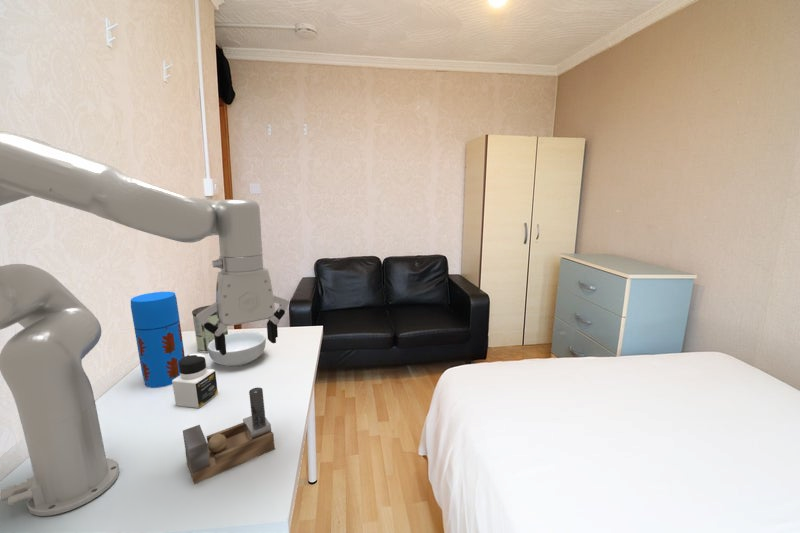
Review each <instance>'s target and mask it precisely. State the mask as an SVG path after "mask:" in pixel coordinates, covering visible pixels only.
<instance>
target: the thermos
mask: <svg viewBox="0 0 800 533" xmlns="http://www.w3.org/2000/svg"><path fill="white" fill-rule="evenodd" d="M177 301H178V299H177V295H176V293H175V292H174V291H156V292H149V293H148V292H147V293H144V294H139V295H136V296H133V297H132V298H130V310H131V316H132V321H133V322H132V323H133V328H134V333H135V340H136V345H137V352H138V357H139V364H140V369H141V375H142V378H143V384H144V385H145V386H146V387H148V388H151V389H152V388H154V389H155V388H163V387H168V386H170V385H173V384H172V380H174V379H175V378H177V377H178V376H180V371H179V364H178V362H179V360H180V359H182V358H183V357H185V350H184V341H183V335H182V327H181V322H180V312H179V307H178V302H177Z"/></svg>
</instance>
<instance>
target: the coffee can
mask: <svg viewBox="0 0 800 533" xmlns="http://www.w3.org/2000/svg"><path fill="white" fill-rule="evenodd" d="M211 305H212V304H210V305H204V306H200V307H197V308H194V309H193V310H192V311H191V314H192V319H193V326H194V332H195V339H196V340H195V341H196V346H197V352H198V353H200V354H201V353H202V354H209V352H208V344H209V343H210V342H211V341H213V340H214V339H215V338H214V334H213V333H211V332H210V331H208V330H206V329H205V328H204V327H203V325H202V324H201V323H200V321H199V320H198V319H197V318H196V315H197V314H198V313H200V312H201V311H203V310H204V309H206V308H208V307H209V306H211ZM207 320H208V321H209V322H210V323H212V324H213V325H215V323H216V322H217V321H218V317H217V313H216V312H215V313H213V314H212V315H210V316H209V317H208V318H207ZM223 334H224V335H227V334H229V333H228V326H227V327H226V329H225V330H224V331H223Z"/></svg>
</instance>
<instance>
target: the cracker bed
mask: <svg viewBox="0 0 800 533" xmlns="http://www.w3.org/2000/svg"><path fill="white" fill-rule="evenodd" d="M216 434H222V435H224V436H225V437H226V439H227V444H226V447H225V448H224V449H223V450H222V451H221V452H218V453H213V452H211V451H210V450H209V449H208V442H209V440H210V438H211V437H212V436H214V435H216ZM182 435H183V436H182V437H183V441H184V442H183V443H184V450H185V457H186V462H187V466H188V469H189V472H190V475H191V476H190V477H191V478H192V483H193V485H195V484H198V483H200V482H203V481H205V480H208V479H210V478H212V477H215V476H216V475H219V474H221V473H224V472H225V471H227V470H230V469H232V468H235V467H237V466H239V465H241V464H244V463H246V462H249V461H250V460H253V459H255V458H258V457H259V456H263V455H264V454H267V453H268V452H271V451H273V450H275V449H276V448H275V447H276V446H275V437H274V432H273V431H271V432H270V433H267V434H265V435H263V436H260V437H258V438H255V439H253V440H249V438H248V437H247V435H246V433H245V431H244V426H243V422H240V423H239V424H236V425H233V426H230V427H228V428H224V429H222V430H220V431H216V432H215V433H212V434H210V435H209V434H208V435H206V437H205V434H204V432H203V430H202V427H201V425H200V424H197V425H195V426H192V427H189V428H185V429H183V430H182Z"/></svg>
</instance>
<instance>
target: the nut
mask: <svg viewBox="0 0 800 533" xmlns="http://www.w3.org/2000/svg"><path fill="white" fill-rule="evenodd" d="M226 444H227V439H226V437H225V436H224V435H222V434H216V435H214V436H212V437H211V438H210V440H209V442H208V449H209V450H210V451H211V452H213V453H218V452H221V451H222V450H223V449H224V448H225V447H226Z"/></svg>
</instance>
